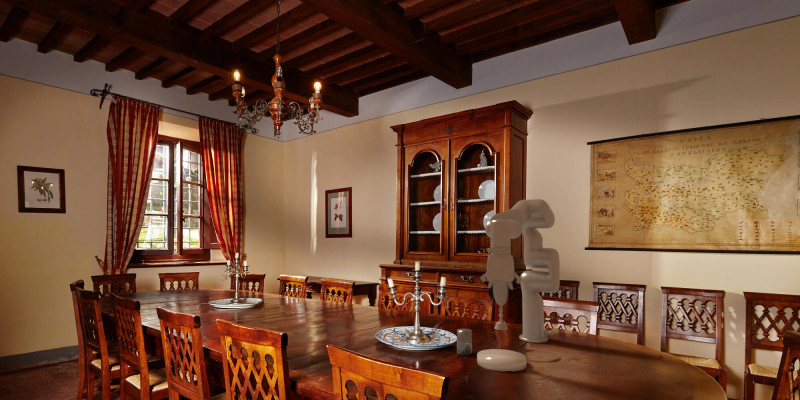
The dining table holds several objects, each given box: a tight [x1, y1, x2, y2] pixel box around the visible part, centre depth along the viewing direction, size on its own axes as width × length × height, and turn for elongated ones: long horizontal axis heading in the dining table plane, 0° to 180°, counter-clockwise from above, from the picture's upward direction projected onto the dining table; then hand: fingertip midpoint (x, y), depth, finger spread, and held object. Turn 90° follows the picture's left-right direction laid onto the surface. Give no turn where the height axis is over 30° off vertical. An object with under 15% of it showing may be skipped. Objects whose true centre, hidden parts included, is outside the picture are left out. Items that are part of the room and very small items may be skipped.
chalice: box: [492, 281, 510, 331], centre depth 161 cm, size 7×7×18 cm
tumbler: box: [456, 328, 473, 356], centre depth 174 cm, size 6×6×9 cm
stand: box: [476, 348, 527, 372], centre depth 160 cm, size 18×18×3 cm
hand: (500, 298), depth 161 cm, fingers closed on chalice, 6 cm apart
